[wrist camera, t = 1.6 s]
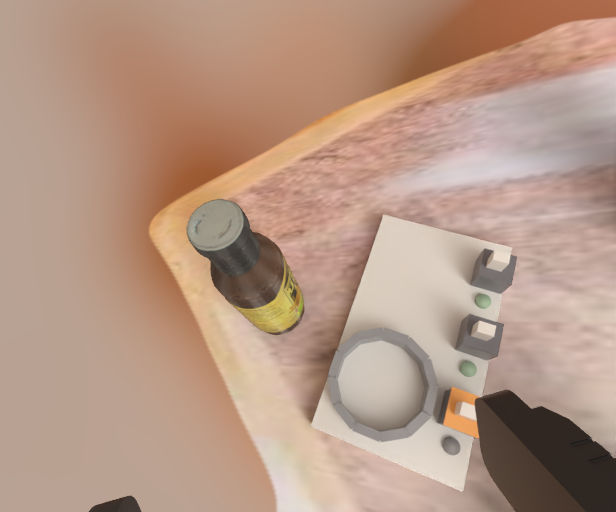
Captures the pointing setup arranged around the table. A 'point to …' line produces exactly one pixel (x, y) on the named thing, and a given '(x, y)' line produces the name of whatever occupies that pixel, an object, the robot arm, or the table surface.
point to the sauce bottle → (246, 267)
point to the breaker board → (432, 321)
